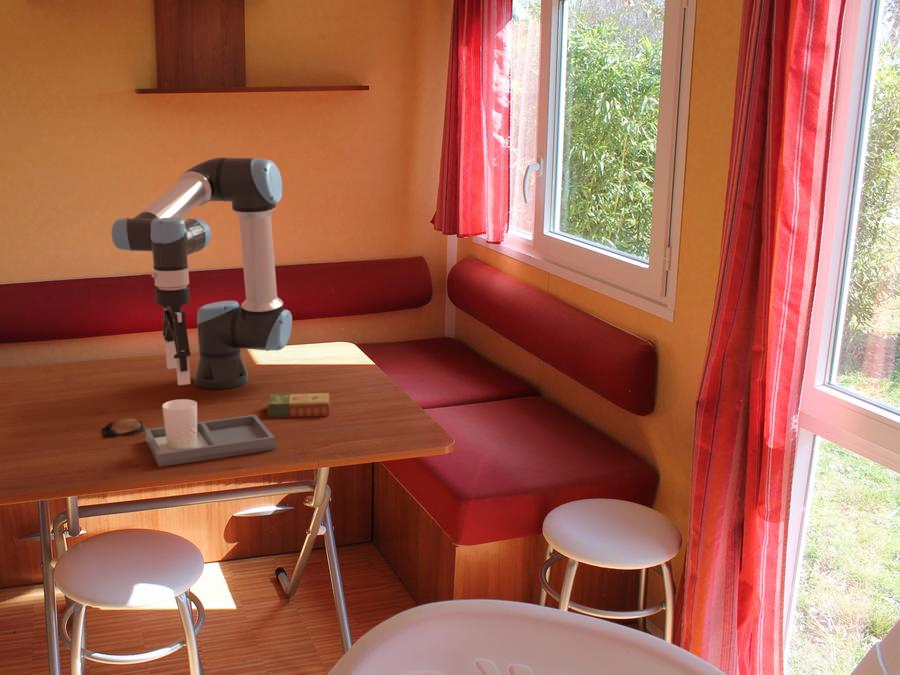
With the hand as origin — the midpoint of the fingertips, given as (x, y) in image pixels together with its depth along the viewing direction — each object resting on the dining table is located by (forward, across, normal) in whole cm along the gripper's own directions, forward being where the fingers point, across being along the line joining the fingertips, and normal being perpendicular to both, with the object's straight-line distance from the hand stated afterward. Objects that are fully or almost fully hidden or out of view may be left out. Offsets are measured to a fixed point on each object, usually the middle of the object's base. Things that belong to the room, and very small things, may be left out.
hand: (178, 375), depth 230 cm
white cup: (+17, 0, 0) cm, 17 cm away
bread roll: (+19, -18, -11) cm, 28 cm away
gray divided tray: (+18, 0, +6) cm, 19 cm away
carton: (+19, -15, +33) cm, 41 cm away
